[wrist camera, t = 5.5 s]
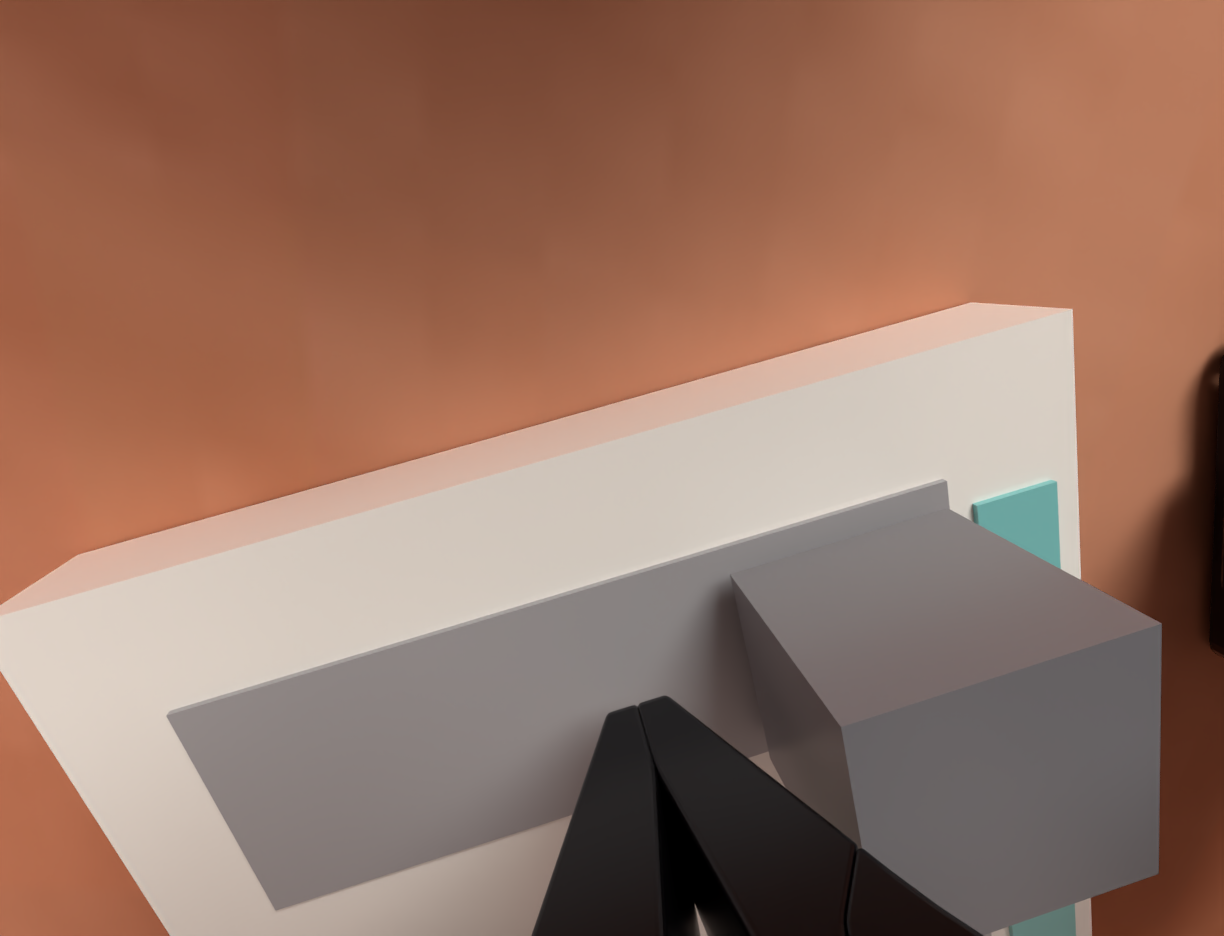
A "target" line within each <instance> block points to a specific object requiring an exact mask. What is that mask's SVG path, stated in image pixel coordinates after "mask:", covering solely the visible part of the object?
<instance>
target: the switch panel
mask: <svg viewBox="0 0 1224 936" xmlns="http://www.w3.org/2000/svg"><path fill="white" fill-rule="evenodd" d="M946 508H948V509H950V510H952V511H954V512H956V513H958V514H960V515H961V516H963V517H965V518H967V519H969V520H971V521H973V522H974V523H976V524H978V525H980V526H982V527H984V528H985V529H987V530H989V531H991V532H993V533H995V534H997V535H998V536H1000V537H1002V538H1004V539H1006V540H1008V541H1010V542H1011V543H1013V544H1015V545H1017V546H1019V547H1021V548H1023V549H1024V550H1026V551H1028V552H1030V553H1032V554H1034V555H1036V556H1037V557H1039V558H1041V559H1043V560H1045V561H1047V562H1049V563H1050V564H1052V565H1054V566H1056V567H1058V568H1060V569H1062V570H1063V571H1065V572H1067V573H1069V574H1071V575H1073V576H1075V577H1076V578H1078V579H1080V580H1081V565H1080V533H1079V501H1078V469H1077V437H1076V405H1075V373H1074V341H1073V309H1064V308H1049V307H1034V306H1018V305H1003V304H988V303H972V302H971V303H967V304H964V305H960V306H957V307H953V308H950V309H946V310H942V311H939V312H935V313H932V314H928V315H925V316H921V317H918V318H914V319H911V320H907V321H904V322H900V323H896V324H893V325H889V326H886V327H882V328H879V329H875V330H872V331H868V332H865V333H861V334H858V335H854V336H850V337H847V338H843V339H840V340H836V341H833V342H829V343H826V344H822V345H819V346H815V347H812V348H808V349H804V350H801V351H797V352H794V353H790V354H787V355H783V356H780V357H776V358H773V359H769V360H765V361H762V362H758V363H755V364H751V365H748V366H744V367H741V368H737V369H734V370H730V371H727V372H723V373H719V374H716V375H712V376H709V377H705V378H702V379H698V380H695V381H691V382H688V383H684V384H681V385H677V386H673V387H670V388H666V389H663V390H659V391H656V392H652V393H649V394H645V395H642V396H638V397H635V398H631V399H627V400H624V401H620V402H617V403H613V404H610V405H606V406H603V407H599V408H596V409H592V410H588V411H585V412H581V413H578V414H574V415H571V416H567V417H564V418H560V419H557V420H553V421H550V422H546V423H542V424H539V425H535V426H532V427H528V428H525V429H521V430H518V431H514V432H511V433H507V434H504V435H500V436H496V437H493V438H489V439H486V440H482V441H479V442H475V443H472V444H468V445H465V446H461V447H458V448H454V449H450V450H447V451H443V452H440V453H436V454H433V455H429V456H426V457H422V458H419V459H415V460H412V461H408V462H404V463H401V464H397V465H394V466H390V467H387V468H383V469H380V470H376V471H373V472H369V473H365V474H362V475H358V476H355V477H351V478H348V479H344V480H341V481H337V482H334V483H330V484H327V485H323V486H319V487H316V488H312V489H309V490H305V491H302V492H298V493H295V494H291V495H288V496H284V497H281V498H277V499H273V500H270V501H266V502H263V503H259V504H256V505H252V506H249V507H245V508H242V509H238V510H235V511H231V512H227V513H224V514H220V515H217V516H213V517H210V518H206V519H203V520H199V521H196V522H192V523H189V524H185V525H181V526H178V527H174V528H171V529H167V530H164V531H160V532H157V533H153V534H150V535H146V536H142V537H139V538H135V539H132V540H128V541H125V542H121V543H118V544H114V545H111V546H107V547H104V548H100V549H96V550H93V551H89V552H86V553H82V554H79V555H76V556H75V557H73V558H72V559H70V560H69V561H67V562H66V563H64V564H63V565H61V566H60V567H58V568H56V569H55V570H53V571H52V572H50V573H49V574H47V575H46V576H44V577H43V578H41V579H40V580H38V581H37V582H35V583H34V584H32V585H30V586H29V587H27V588H26V589H24V590H23V591H21V592H20V593H18V594H17V595H15V596H14V597H12V598H11V599H9V600H7V601H6V602H4V603H3V604H1V605H0V671H1V673H2V674H3V676H4V677H5V679H6V680H7V682H8V683H9V685H10V687H11V688H12V690H13V691H14V693H15V694H16V696H17V698H18V699H19V701H20V702H21V704H22V705H23V707H24V708H25V710H26V712H27V713H28V715H29V716H30V718H31V719H32V721H33V723H34V724H35V726H36V727H37V729H38V730H39V732H40V733H41V735H42V737H43V738H44V740H45V741H46V743H47V744H48V746H49V747H50V749H51V751H52V752H53V754H54V755H55V757H56V758H57V760H58V762H59V763H60V765H61V766H62V768H63V769H64V771H65V772H66V774H67V776H68V777H69V779H70V780H71V782H72V783H73V785H74V786H75V788H76V790H77V791H78V793H79V794H80V796H81V797H82V799H83V801H84V802H85V804H86V805H87V807H88V808H89V810H90V811H91V813H92V815H93V816H94V818H95V819H96V821H97V822H98V824H99V826H100V827H101V829H102V830H103V832H104V833H105V835H106V836H107V838H108V840H109V841H110V843H111V844H112V846H113V847H114V849H115V850H116V852H117V854H118V855H119V857H120V858H121V860H122V861H123V863H124V865H125V866H126V868H127V869H128V871H129V872H130V874H131V875H132V877H133V879H134V880H135V882H136V883H137V885H138V886H139V888H140V890H141V891H142V893H143V894H144V896H145V897H146V899H147V900H148V902H149V904H150V905H151V907H152V908H153V910H154V911H155V913H156V914H157V916H158V918H159V919H160V921H161V922H162V924H163V925H164V927H165V929H166V930H167V932H168V933H169V935H170V936H531V935H532V932H533V929H534V926H535V923H536V920H537V917H538V914H539V911H540V909H541V906H542V903H543V900H544V897H545V894H546V891H547V888H548V885H549V882H550V879H551V876H552V873H553V870H554V867H555V864H556V861H557V859H558V856H559V853H560V850H561V847H562V844H563V841H564V838H565V835H566V832H567V829H568V826H569V823H570V820H571V817H572V814H573V811H574V809H575V806H576V803H577V800H578V797H579V794H580V791H581V788H582V785H583V782H584V779H585V776H586V773H587V770H588V767H589V764H590V761H591V759H592V756H593V753H594V750H595V747H596V744H597V741H598V738H599V735H600V732H601V729H602V726H603V723H604V720H605V718H606V715H607V714H608V713H610V712H612V711H615V710H618V709H622V708H625V707H628V706H631V705H636V706H638V705H639V703H641V702H644V701H647V700H650V699H654V698H657V697H660V696H664V695H666V696H669V697H670V698H672V699H673V700H674V701H676V702H677V703H678V704H679V705H681V706H682V707H683V708H685V709H686V710H687V711H688V712H690V713H691V714H692V715H693V716H695V717H696V718H697V719H699V720H700V721H701V722H702V723H704V724H705V725H706V726H707V727H709V728H710V729H711V730H713V731H714V732H715V733H716V734H718V735H719V736H720V737H721V738H723V739H724V740H725V741H727V742H728V743H729V744H730V745H732V746H733V747H734V748H735V749H737V750H738V751H739V752H741V753H742V754H743V755H744V756H746V757H747V758H748V759H749V760H751V761H752V762H753V763H755V764H756V765H757V766H758V767H760V768H761V769H762V770H763V771H765V772H766V773H767V774H769V775H770V776H771V777H772V778H774V779H775V780H776V781H778V782H779V783H780V784H781V785H783V786H784V784H783V782H782V780H781V778H780V776H779V774H778V772H777V771H776V769H775V767H774V765H773V763H772V761H771V759H770V756H769V751H768V746H767V742H766V737H765V733H764V728H763V723H762V719H761V714H760V710H759V705H758V701H757V696H756V691H755V687H754V682H753V678H752V673H751V669H750V664H749V659H748V655H747V650H746V646H745V641H744V637H743V632H742V627H741V623H740V618H739V614H738V609H737V605H736V600H735V595H734V591H733V586H732V582H731V577H730V574H732V573H736V572H739V571H742V570H746V569H749V568H752V567H755V566H759V565H762V564H765V563H769V562H772V561H775V560H778V559H782V558H785V557H788V556H792V555H795V554H798V553H802V552H805V551H808V550H811V549H815V548H818V547H821V546H825V545H828V544H831V543H834V542H838V541H841V540H844V539H848V538H851V537H854V536H858V535H861V534H864V533H867V532H871V531H874V530H877V529H881V528H884V527H887V526H890V525H894V524H897V523H900V522H904V521H907V520H910V519H914V518H917V517H920V516H923V515H927V514H930V513H933V512H937V511H940V510H943V509H946ZM784 787H785V786H784ZM785 788H786V787H785ZM695 908H696V906H695ZM696 913H697V918H698V924H699V930H700V936H708V935H707V933H706V930H705V928H704V926H703V923H702V921H701V918H700V916H699V914H698V911H697V908H696ZM984 936H1092V916H1091V898H1089V899H1086V900H1083V901H1080V902H1077V903H1074V904H1071V905H1069V906H1066V907H1063V908H1060V909H1057V910H1054V911H1051V912H1049V913H1046V914H1043V915H1040V916H1037V917H1034V918H1031V919H1029V920H1026V921H1023V922H1020V923H1017V924H1014V925H1011V926H1009V927H1006V928H1003V929H1000V930H997V931H994V932H991V933H989V934H986V935H984Z"/></svg>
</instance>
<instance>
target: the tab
mask: <svg viewBox="0 0 1224 936" xmlns="http://www.w3.org/2000/svg"><path fill="white" fill-rule="evenodd" d="M730 577H731V582H732V586H733V591H734V595H735V600H736V605H737V609H738V614H739V618H740V623H741V627H742V632H743V637H744V641H745V646H746V650H747V655H748V659H749V664H750V669H751V673H752V678H753V682H754V687H755V691H756V696H757V701H758V705H759V710H760V714H761V719H762V723H763V728H764V733H765V737H766V742H767V746H768V751H769V756H770V759H771V761H772V763H773V765H774V767H775V769H776V771H777V772H778V774H779V776H780V778H781V780H782V782H783V784H784V786H785V787H786V789H788V790H789V791H790V792H792V793H793V794H794V795H795V796H797V797H798V798H799V799H800V800H802V801H803V802H804V803H806V804H807V805H808V806H809V807H811V808H812V809H813V810H814V811H816V812H817V813H818V814H820V815H821V816H822V817H823V818H825V819H826V820H827V821H828V822H830V823H831V824H832V825H834V826H835V827H836V828H837V829H839V830H840V831H841V832H842V833H844V834H845V835H846V836H848V837H849V838H850V839H851V840H853V841H854V842H855V843H856V844H857V846H858V849H859V848H863V849H865V850H866V851H867V852H868V853H870V854H871V855H872V856H873V857H875V858H876V859H877V860H879V861H880V862H881V863H882V864H884V865H885V866H886V867H887V868H889V869H890V870H891V871H892V872H894V873H895V874H896V875H898V876H899V877H900V878H902V879H903V880H905V881H906V882H907V883H909V884H910V885H911V886H913V887H914V888H915V889H917V890H918V891H919V892H921V893H922V894H924V895H925V896H926V897H928V898H929V899H930V900H932V901H933V902H934V903H936V904H937V905H938V906H940V907H941V908H943V909H944V910H946V911H947V912H949V913H950V914H952V915H953V916H955V917H956V918H958V919H959V920H961V921H963V922H964V923H966V924H967V925H969V926H970V927H972V928H973V929H975V930H976V931H978V932H979V933H981V934H982V935H986V934H989V933H991V932H994V931H997V930H1000V929H1003V928H1006V927H1009V926H1011V925H1014V924H1017V923H1020V922H1023V921H1026V920H1029V919H1031V918H1034V917H1037V916H1040V915H1043V914H1046V913H1049V912H1051V911H1054V910H1057V909H1060V908H1063V907H1066V906H1069V905H1071V904H1074V903H1077V902H1080V901H1083V900H1086V899H1089V898H1091V897H1094V896H1097V895H1100V894H1103V893H1106V892H1109V891H1111V890H1114V889H1117V888H1120V887H1123V886H1126V885H1129V884H1131V883H1134V882H1137V881H1140V880H1143V879H1146V878H1149V877H1151V876H1154V875H1157V874H1159V811H1160V730H1161V648H1162V623H1160V622H1158V621H1156V620H1154V619H1152V618H1151V617H1149V616H1147V615H1145V614H1143V613H1141V612H1139V611H1138V610H1136V609H1134V608H1132V607H1130V606H1128V605H1126V604H1125V603H1123V602H1121V601H1119V600H1117V599H1115V598H1113V597H1112V596H1110V595H1108V594H1106V593H1104V592H1102V591H1100V590H1099V589H1097V588H1095V587H1093V586H1091V585H1089V584H1088V583H1086V582H1084V581H1082V580H1080V579H1078V578H1076V577H1075V576H1073V575H1071V574H1069V573H1067V572H1065V571H1063V570H1062V569H1060V568H1058V567H1056V566H1054V565H1052V564H1050V563H1049V562H1047V561H1045V560H1043V559H1041V558H1039V557H1037V556H1036V555H1034V554H1032V553H1030V552H1028V551H1026V550H1024V549H1023V548H1021V547H1019V546H1017V545H1015V544H1013V543H1011V542H1010V541H1008V540H1006V539H1004V538H1002V537H1000V536H998V535H997V534H995V533H993V532H991V531H989V530H987V529H985V528H984V527H982V526H980V525H978V524H976V523H974V522H973V521H971V520H969V519H967V518H965V517H963V516H961V515H960V514H958V513H956V512H954V511H952V510H950V509H948V508H946V509H943V510H940V511H937V512H933V513H930V514H927V515H923V516H920V517H917V518H914V519H910V520H907V521H904V522H900V523H897V524H894V525H890V526H887V527H884V528H881V529H877V530H874V531H871V532H867V533H864V534H861V535H858V536H854V537H851V538H848V539H844V540H841V541H838V542H834V543H831V544H828V545H825V546H821V547H818V548H815V549H811V550H808V551H805V552H802V553H798V554H795V555H792V556H788V557H785V558H782V559H778V560H775V561H772V562H769V563H765V564H762V565H759V566H755V567H752V568H749V569H746V570H742V571H739V572H736V573H732V574H730Z"/></svg>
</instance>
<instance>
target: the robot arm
mask: <svg viewBox="0 0 1224 936" xmlns="http://www.w3.org/2000/svg"><path fill="white" fill-rule="evenodd" d="M1209 642H1210V647H1211V649H1212V650H1213V651H1214V653H1215V654H1217V655H1219V656H1221V657H1223V658H1224V356H1223V358H1222V362H1221V366H1220V378H1219V404H1218V430H1217V456H1216V481H1215V507H1214V533H1213V559H1212V585H1211V611H1210V637H1209ZM695 906H696V908H697V911H698V914H699V916H700V918H701V921H702V923H703V926H704V928H705V930H706V933H707V935H708V936H984V935H982V934H981V933H979V932H978V931H976V930H975V929H973V928H972V927H970V926H969V925H967V924H966V923H964V922H963V921H961V920H959V919H958V918H956V917H955V916H953V915H952V914H950V913H949V912H947V911H946V910H944V909H943V908H941V907H940V906H938V905H937V904H936V903H934V902H933V901H932V900H930V899H929V898H928V897H926V896H925V895H924V894H922V893H921V892H919V891H918V890H917V889H915V888H914V887H913V886H911V885H910V884H909V883H907V882H906V881H905V880H903V879H902V878H900V877H899V876H898V875H896V874H895V873H894V872H892V871H891V870H890V869H889V868H887V867H886V866H885V865H884V864H882V863H881V862H880V861H879V860H877V859H876V858H875V857H873V856H872V855H871V854H870V853H868V852H867V851H866V850H865V849H863V848H859V849H858V846H857V844H856V843H855V842H854V841H853V840H851V839H850V838H849V837H848V836H846V835H845V834H844V833H842V832H841V831H840V830H839V829H837V828H836V827H835V826H834V825H832V824H831V823H830V822H828V821H827V820H826V819H825V818H823V817H822V816H821V815H820V814H818V813H817V812H816V811H814V810H813V809H812V808H811V807H809V806H808V805H807V804H806V803H804V802H803V801H802V800H800V799H799V798H798V797H797V796H795V795H794V794H793V793H792V792H790V791H789V790H788V789H786V788H785V787H784V786H783V785H781V784H780V783H779V782H778V781H776V780H775V779H774V778H772V777H771V776H770V775H769V774H767V773H766V772H765V771H763V770H762V769H761V768H760V767H758V766H757V765H756V764H755V763H753V762H752V761H751V760H749V759H748V758H747V757H746V756H744V755H743V754H742V753H741V752H739V751H738V750H737V749H735V748H734V747H733V746H732V745H730V744H729V743H728V742H727V741H725V740H724V739H723V738H721V737H720V736H719V735H718V734H716V733H715V732H714V731H713V730H711V729H710V728H709V727H707V726H706V725H705V724H704V723H702V722H701V721H700V720H699V719H697V718H696V717H695V716H693V715H692V714H691V713H690V712H688V711H687V710H686V709H685V708H683V707H682V706H681V705H679V704H678V703H677V702H676V701H674V700H673V699H672V698H670V697H669V696H666V695H664V696H660V697H657V698H654V699H650V700H647V701H644V702H641V703H639V705H638V706H636V705H631V706H628V707H625V708H622V709H618V710H615V711H612V712H610V713H608V714H607V715H606V718H605V720H604V723H603V726H602V729H601V732H600V735H599V738H598V741H597V744H596V747H595V750H594V753H593V756H592V759H591V761H590V764H589V767H588V770H587V773H586V776H585V779H584V782H583V785H582V788H581V791H580V794H579V797H578V800H577V803H576V806H575V809H574V811H573V814H572V817H571V820H570V823H569V826H568V829H567V832H566V835H565V838H564V841H563V844H562V847H561V850H560V853H559V856H558V859H557V861H556V864H555V867H554V870H553V873H552V876H551V879H550V882H549V885H548V888H547V891H546V894H545V897H544V900H543V903H542V906H541V909H540V911H539V914H538V917H537V920H536V923H535V926H534V929H533V932H532V935H531V936H700V930H699V924H698V918H697V913H696V908H695Z"/></svg>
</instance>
